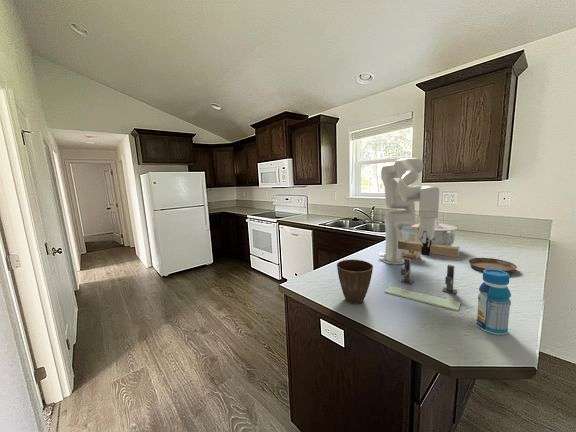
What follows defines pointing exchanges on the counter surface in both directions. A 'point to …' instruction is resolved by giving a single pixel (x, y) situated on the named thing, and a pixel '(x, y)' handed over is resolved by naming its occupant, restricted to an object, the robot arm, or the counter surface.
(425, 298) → the board
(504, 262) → the plant saucer
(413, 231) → the cracker box
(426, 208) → the robot arm
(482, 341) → the counter surface
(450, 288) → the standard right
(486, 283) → the beverage bottle
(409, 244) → the rail
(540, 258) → the counter surface
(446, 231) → the chamber pot
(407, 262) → the bracket
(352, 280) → the plant pot
